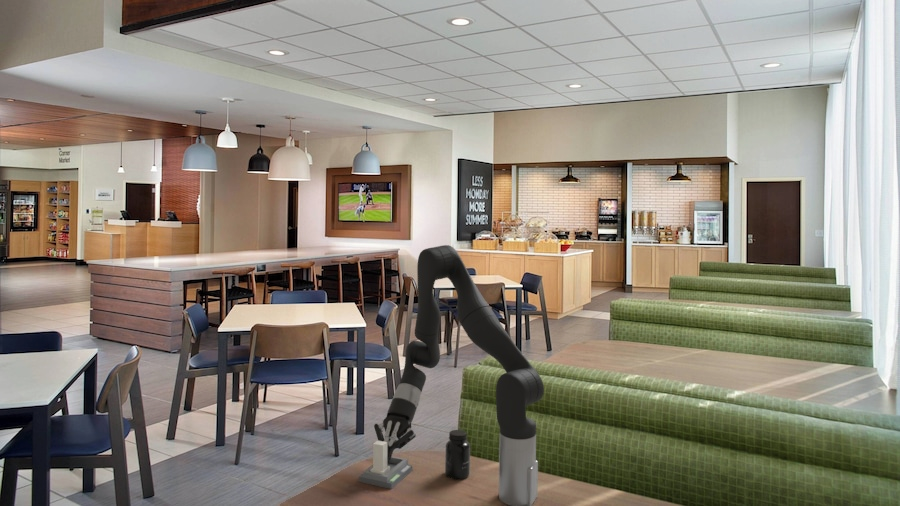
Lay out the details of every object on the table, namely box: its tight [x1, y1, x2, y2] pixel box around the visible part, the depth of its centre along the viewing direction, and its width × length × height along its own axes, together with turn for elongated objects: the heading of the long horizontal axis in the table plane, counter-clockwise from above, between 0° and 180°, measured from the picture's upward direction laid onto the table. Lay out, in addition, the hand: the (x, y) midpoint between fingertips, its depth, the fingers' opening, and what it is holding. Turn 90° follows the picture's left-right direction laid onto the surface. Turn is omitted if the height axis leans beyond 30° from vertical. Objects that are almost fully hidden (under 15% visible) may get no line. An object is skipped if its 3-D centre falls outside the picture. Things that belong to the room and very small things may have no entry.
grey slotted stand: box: [358, 455, 413, 490], centre depth 168 cm, size 10×12×3 cm
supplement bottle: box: [444, 429, 471, 480], centre depth 168 cm, size 7×7×12 cm
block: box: [370, 440, 390, 475], centre depth 164 cm, size 4×4×9 cm
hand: (383, 460), depth 166 cm, fingers closed
